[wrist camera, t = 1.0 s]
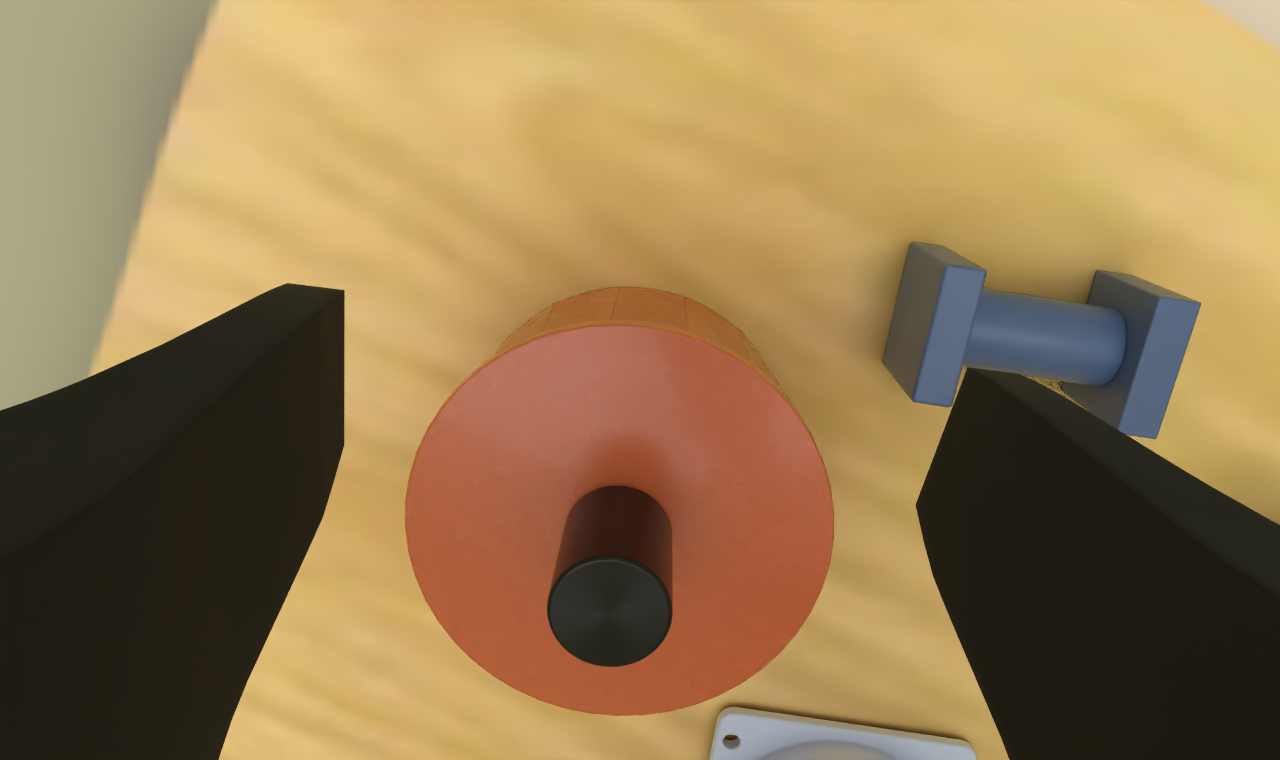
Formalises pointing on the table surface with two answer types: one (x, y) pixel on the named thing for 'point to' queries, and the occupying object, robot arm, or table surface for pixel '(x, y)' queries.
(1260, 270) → the table surface
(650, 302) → the pot
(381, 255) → the table surface
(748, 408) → the lid
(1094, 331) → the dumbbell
